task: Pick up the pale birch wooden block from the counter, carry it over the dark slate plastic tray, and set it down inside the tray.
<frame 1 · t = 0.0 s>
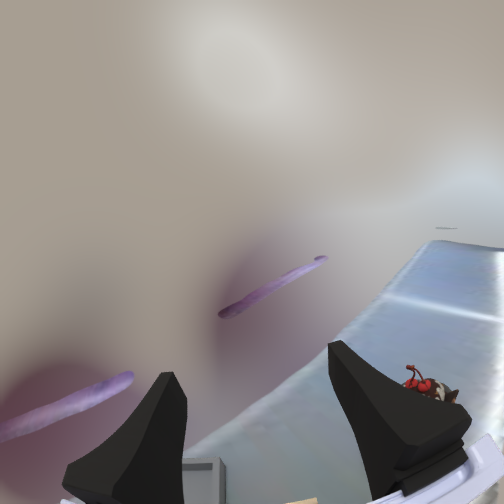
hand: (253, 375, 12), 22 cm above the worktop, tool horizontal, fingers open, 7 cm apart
sundae: (401, 457, 20), on the worktop
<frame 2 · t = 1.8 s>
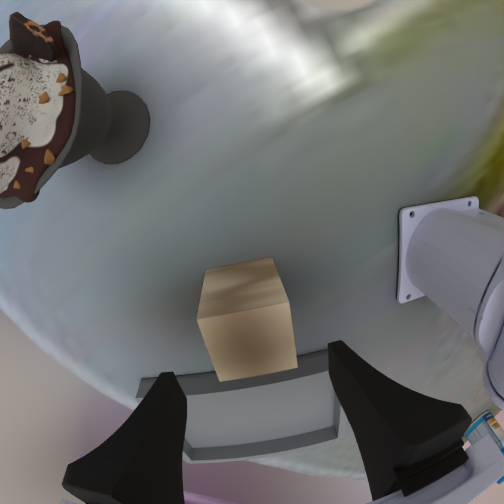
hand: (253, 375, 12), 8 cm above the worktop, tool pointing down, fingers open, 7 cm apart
block: (245, 292, 19), on the worktop
tray: (252, 411, 24), on the worktop
beverage bottle: (476, 421, 37), on the worktop
sundae: (116, 127, 15), on the worktop
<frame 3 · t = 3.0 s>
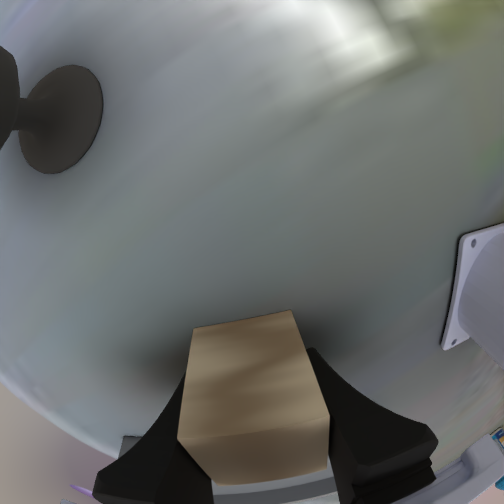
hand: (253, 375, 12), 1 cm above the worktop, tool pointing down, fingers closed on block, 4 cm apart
block: (250, 355, 13), on the worktop, touching gripper
tray: (257, 467, 18), on the worktop
beverage bottle: (487, 438, 31), on the worktop
sundae: (59, 119, 9), on the worktop
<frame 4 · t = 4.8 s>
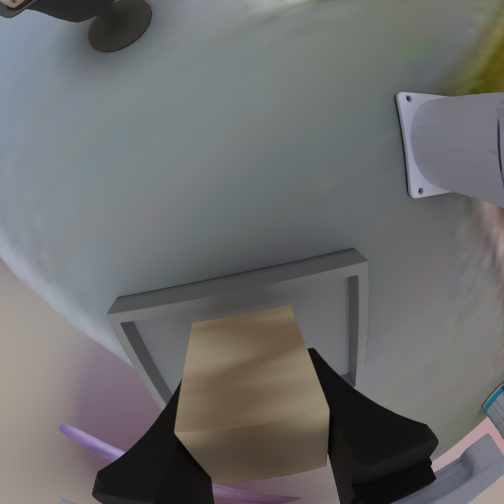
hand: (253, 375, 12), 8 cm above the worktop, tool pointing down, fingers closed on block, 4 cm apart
block: (249, 351, 13), point 7 cm above the worktop, touching gripper
tray: (249, 345, 21), on the worktop
beverage bottle: (494, 394, 34), on the worktop
sundae: (120, 25, 12), on the worktop
when the fingers open (4 cm above the worktop, at t = 6.8 s): block drops 2 cm, resting on tray.
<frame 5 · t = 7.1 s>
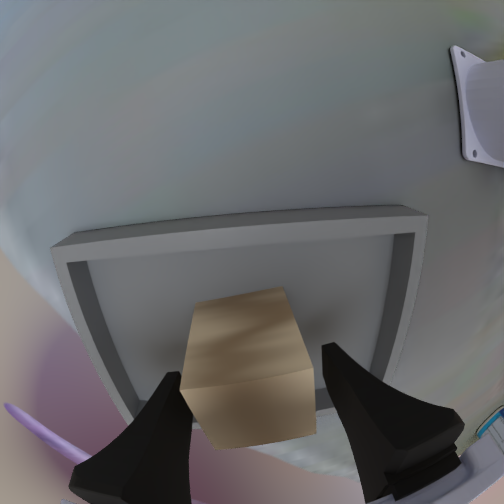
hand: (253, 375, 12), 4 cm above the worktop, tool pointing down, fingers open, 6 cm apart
block: (246, 329, 15), point 1 cm above the worktop, touching tray
tray: (247, 327, 15), on the worktop
beverage bottle: (489, 418, 30), on the worktop
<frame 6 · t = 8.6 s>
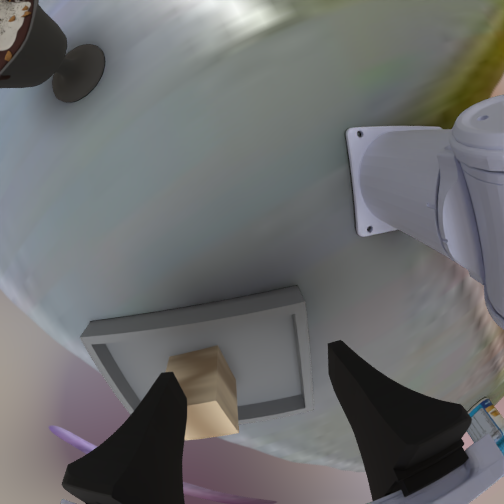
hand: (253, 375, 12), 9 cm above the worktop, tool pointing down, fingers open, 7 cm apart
block: (203, 369, 22), point 1 cm above the worktop, touching tray
tray: (205, 366, 23), on the worktop
beverage bottle: (473, 409, 36), on the worktop
sundae: (78, 73, 14), on the worktop
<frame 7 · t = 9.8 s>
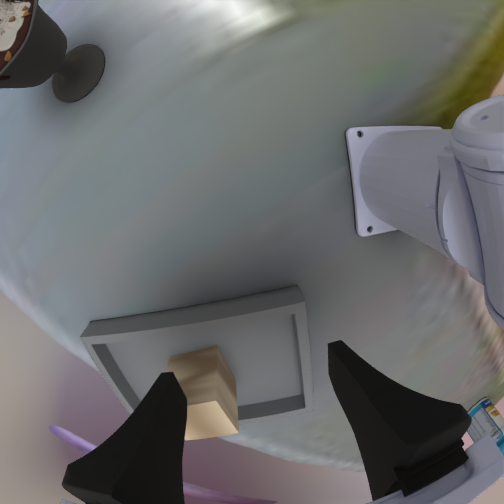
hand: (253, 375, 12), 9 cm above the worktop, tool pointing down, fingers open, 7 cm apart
block: (203, 369, 22), point 1 cm above the worktop, touching tray
tray: (205, 366, 23), on the worktop
beverage bottle: (473, 409, 36), on the worktop
sundae: (78, 73, 14), on the worktop
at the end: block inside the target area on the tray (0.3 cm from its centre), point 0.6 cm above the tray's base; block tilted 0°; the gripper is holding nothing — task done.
